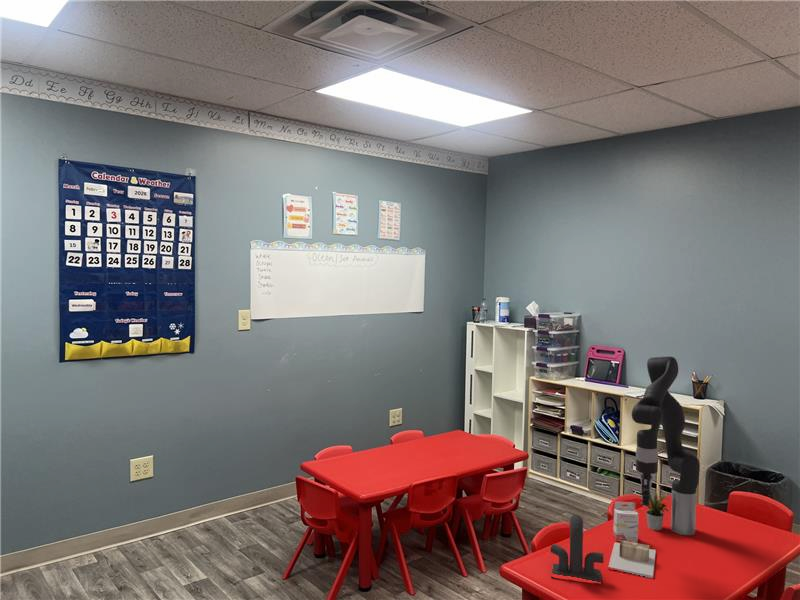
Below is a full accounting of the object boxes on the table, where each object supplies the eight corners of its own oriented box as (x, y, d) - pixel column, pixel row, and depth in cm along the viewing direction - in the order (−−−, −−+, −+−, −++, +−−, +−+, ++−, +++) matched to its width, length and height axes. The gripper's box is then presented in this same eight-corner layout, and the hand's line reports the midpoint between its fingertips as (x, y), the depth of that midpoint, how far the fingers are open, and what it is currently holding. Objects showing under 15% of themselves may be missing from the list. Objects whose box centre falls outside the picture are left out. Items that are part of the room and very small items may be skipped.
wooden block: (648, 557, 225) (620, 551, 230) (649, 545, 225) (621, 540, 230) (648, 562, 221) (619, 556, 226) (648, 550, 221) (619, 544, 226)
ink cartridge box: (616, 541, 241) (616, 505, 240) (613, 536, 246) (613, 501, 245) (638, 542, 240) (639, 506, 239) (634, 537, 245) (635, 502, 244)
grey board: (614, 544, 238) (614, 542, 238) (655, 552, 231) (655, 549, 231) (608, 569, 218) (608, 566, 218) (652, 578, 212) (653, 575, 212)
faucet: (601, 564, 222) (602, 511, 221) (603, 585, 207) (604, 528, 206) (550, 557, 227) (551, 505, 226) (549, 577, 212) (550, 522, 211)
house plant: (633, 531, 251) (633, 492, 250) (634, 518, 263) (634, 482, 263) (670, 537, 245) (671, 497, 244) (669, 524, 258) (670, 486, 257)
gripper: (637, 452, 231) (636, 493, 232) (634, 462, 218) (634, 506, 219) (658, 454, 228) (657, 496, 229) (656, 465, 215) (656, 509, 216)
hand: (646, 501), depth 224 cm, fingers open, 8 cm apart
